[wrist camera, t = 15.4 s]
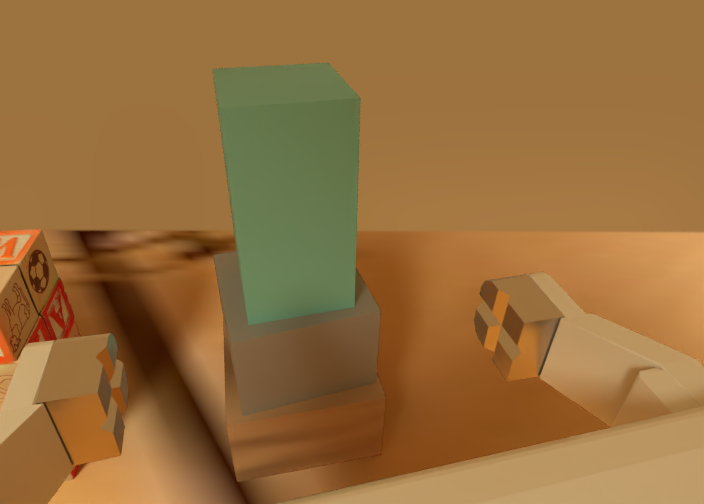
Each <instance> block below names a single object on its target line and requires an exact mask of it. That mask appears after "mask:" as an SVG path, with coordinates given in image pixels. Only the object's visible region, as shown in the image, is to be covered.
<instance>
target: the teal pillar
mask: <svg viewBox="0 0 704 504" xmlns="http://www.w3.org/2000/svg"><path fill="white" fill-rule="evenodd" d="M212 70H213V78H214V86H215V93H216V101H217V108H218V116H219V123H220V131H221V138H222V146H223V153H224V161H225V168H226V175H227V183H228V191H229V198H230V205H231V213H232V220H233V228H234V236H235V243H236V250H237V258H238V265H239V271H240V277H241V283H242V289H243V295H244V301H245V308H246V314H247V320H248V325H252V324H258V323H264V322H270V321H276V320H282V319H288V318H294V317H299V316H305V315H311V314H317V313H323V312H329V311H335V310H341V309H346V308H352V307H355V273H356V237H357V202H358V167H359V132H360V97H359V96H358V95H357V94H356V93H355V92H354V90H353V89H352V88H351V87H350V86H349V85H348V84H347V83H346V82H345V80H344V79H343V78H342V77H341V76H340V75H339V74H338V73H337V72H336V71H335V69H334V68H333V67H332V66H331V65H330V64H329V63H315V64H296V65H278V66H259V67H239V68H221V69H212Z"/></svg>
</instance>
